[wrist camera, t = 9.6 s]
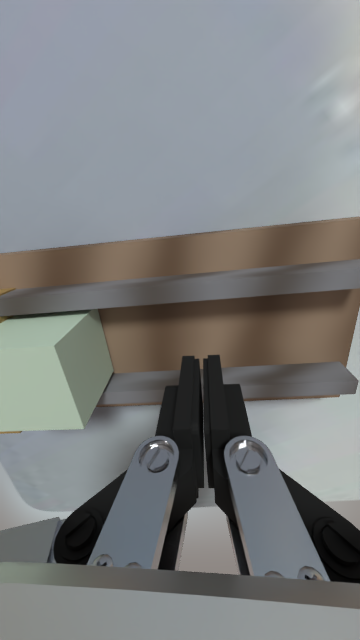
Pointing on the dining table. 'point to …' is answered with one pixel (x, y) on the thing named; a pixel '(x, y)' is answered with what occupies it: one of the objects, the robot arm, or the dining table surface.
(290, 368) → the track
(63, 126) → the dining table surface
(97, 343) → the pale green cube
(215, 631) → the robot arm
